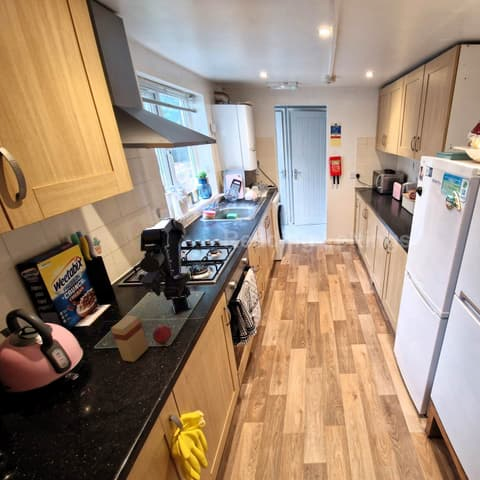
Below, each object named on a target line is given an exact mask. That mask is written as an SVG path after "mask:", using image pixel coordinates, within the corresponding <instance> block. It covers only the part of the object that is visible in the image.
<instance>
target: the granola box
mask: <svg viewBox="0 0 480 480" xmlns="http://www.w3.org/2000/svg"><path fill="white" fill-rule="evenodd" d="M110 330H111V332H112V335H113V338H114V340H115V343H116V346H117V348H118V351H119V354H120V356H121V358H122V361H125V362H131V363H132V362H133V363H134V362H137V360H138V359H139V358H140V357H141V356H142V355H144V353H145V352H146V351H147V350H149V344H148V342H147V339H146V336H145V333H144V330H143V325H142V322H141V320H140V317H139V316H137V315H136V316H135V315H126V316H125V317H123V318H122V319H121V320H120V321H118V322H117V323H116V324H114V325H113V326H111V327H110Z"/></svg>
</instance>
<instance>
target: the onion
mask: <svg viewBox="0 0 480 480" xmlns="http://www.w3.org/2000/svg"><path fill="white" fill-rule="evenodd" d="M171 336H172V330H171V328H169V327H168V326H166V325H163V324H161V323H160V324H159V325H158V326H157V328H155V330H154V331H153V333H152V339H153V341H154V342H156V343H157V344H166V343H167V342H168V341H169V340H170V338H171Z"/></svg>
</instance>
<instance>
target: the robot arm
mask: <svg viewBox="0 0 480 480" xmlns="http://www.w3.org/2000/svg"><path fill="white" fill-rule="evenodd" d="M185 236H186V227H185V225H184V224H183V223H181V222H180V221H177V220H176V218H175V217H164V218H161V219H160V221H159V222H158V223H157V224H155V225H154V226H153V227H147V228H144V229H143V230H142V231H141V233H140V249H139V251H140V252H144V257H143V258H142V259H141V260H140V262H139V267H140V269H141V270H142V271H144V272H141V273H140V274H139V275H138V277H137V280H138V282H139V283H141V285H142V286H143V288H146V289H147V288H149V289H151V290H152V291H153V292H154V294H155V296H157V297H160V296H161V292H162V291H161V284H162V283H163V282H164V288H163V295H164V298H165V300H166V301H171V302H172V305H171V309H172V310H173V312H174V314H175V315H176V314H179V313H182V312H184V311H189V310H190V309H191V308H192V307H191V305H190V303H189V301H188V298H189V297H190V296H191V295H192V294H191V289H190V286H188V285H187V283H188V282H190V281H191V280H192V278H191V274H190V273H188V272H187V273H186V272H182V248H181V247H182V244H183V243H184V241H185ZM167 247H168V248H167Z"/></svg>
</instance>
